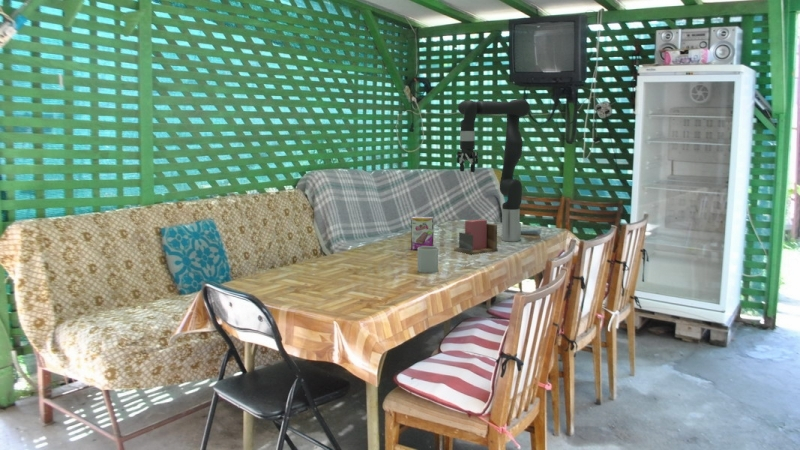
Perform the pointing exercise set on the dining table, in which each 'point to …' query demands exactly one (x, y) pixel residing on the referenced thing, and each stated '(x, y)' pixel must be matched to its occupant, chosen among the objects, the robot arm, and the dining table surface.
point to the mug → (427, 259)
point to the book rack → (467, 242)
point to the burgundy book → (477, 232)
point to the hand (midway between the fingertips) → (467, 171)
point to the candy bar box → (422, 232)
